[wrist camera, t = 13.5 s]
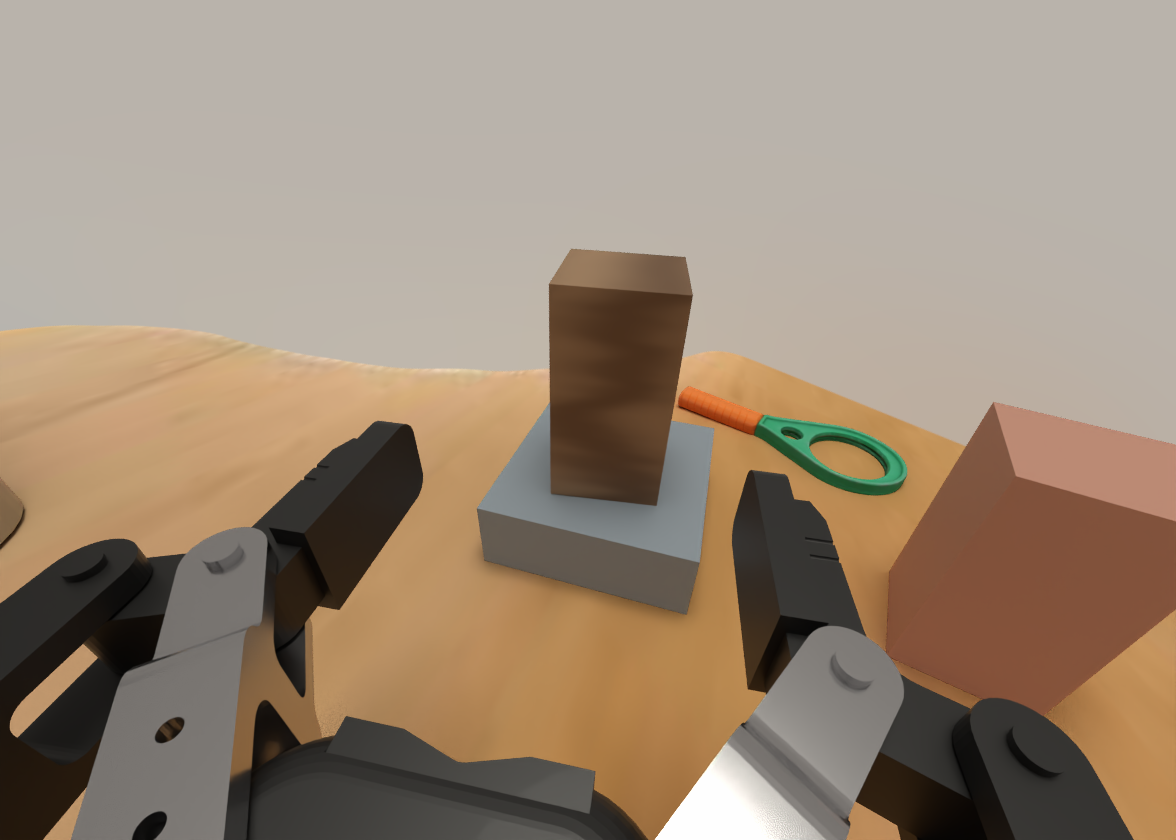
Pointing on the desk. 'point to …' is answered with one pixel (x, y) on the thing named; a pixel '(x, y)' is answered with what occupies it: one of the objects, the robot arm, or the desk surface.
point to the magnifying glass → (803, 441)
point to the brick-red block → (1037, 558)
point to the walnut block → (614, 371)
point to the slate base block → (603, 523)
